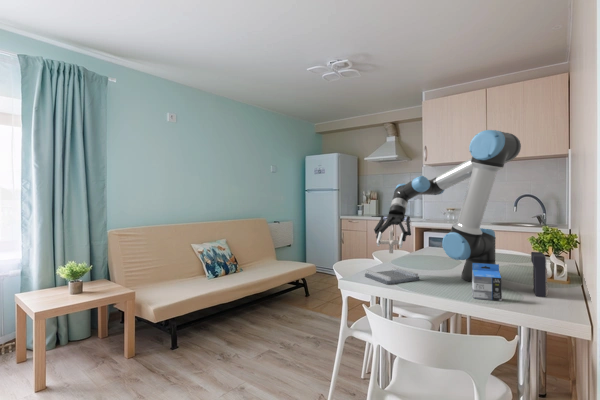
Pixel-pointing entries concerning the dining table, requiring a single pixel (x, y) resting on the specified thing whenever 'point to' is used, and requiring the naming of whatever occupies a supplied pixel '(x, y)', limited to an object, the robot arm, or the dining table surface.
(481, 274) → the ink cartridge box
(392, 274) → the plate
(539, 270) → the calculator
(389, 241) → the pipe connector
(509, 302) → the dining table surface
